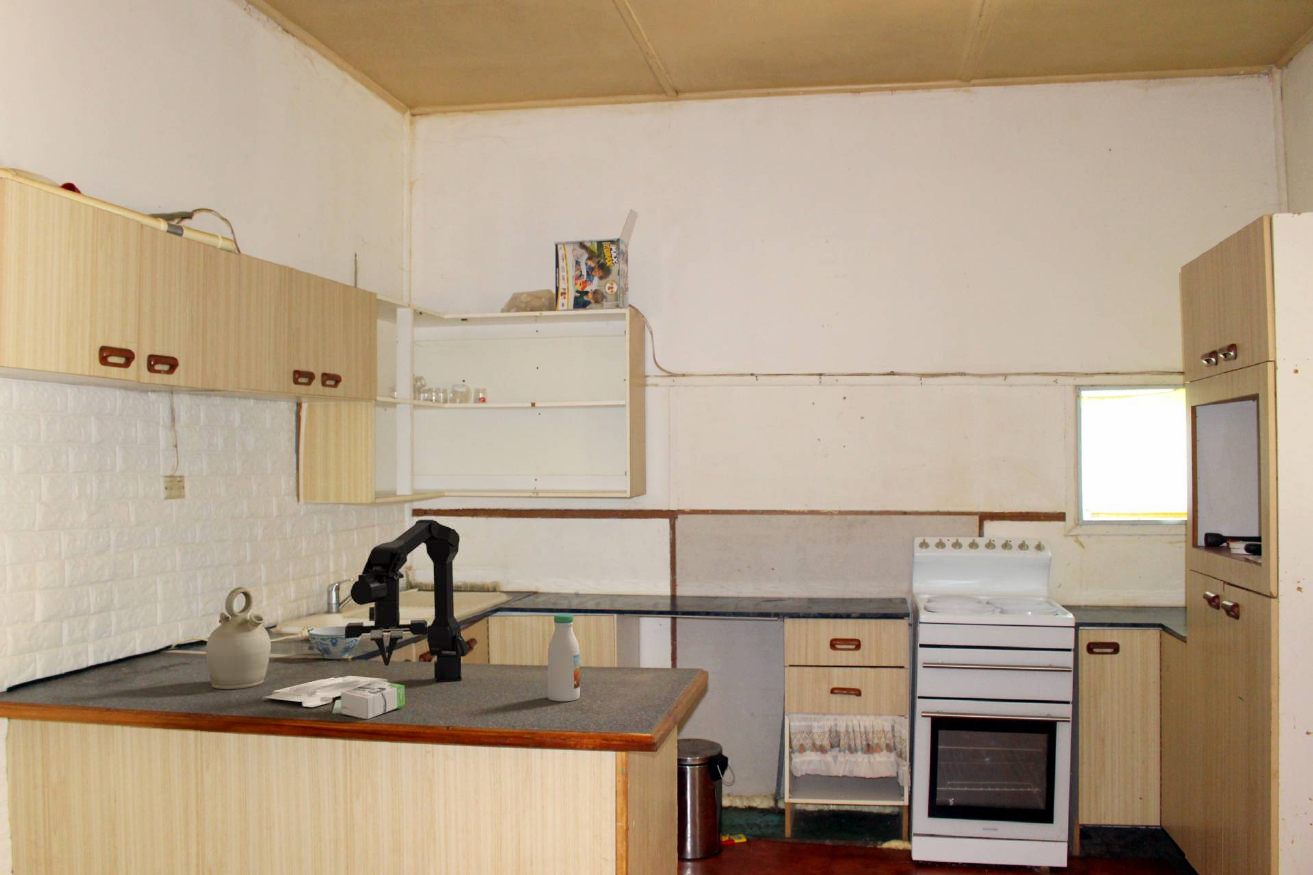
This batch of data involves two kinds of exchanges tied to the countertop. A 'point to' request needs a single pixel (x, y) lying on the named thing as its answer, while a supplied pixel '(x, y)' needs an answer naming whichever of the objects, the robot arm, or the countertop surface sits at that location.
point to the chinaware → (332, 641)
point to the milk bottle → (563, 661)
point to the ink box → (372, 699)
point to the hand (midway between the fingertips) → (386, 665)
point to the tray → (320, 690)
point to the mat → (337, 707)
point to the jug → (238, 646)
